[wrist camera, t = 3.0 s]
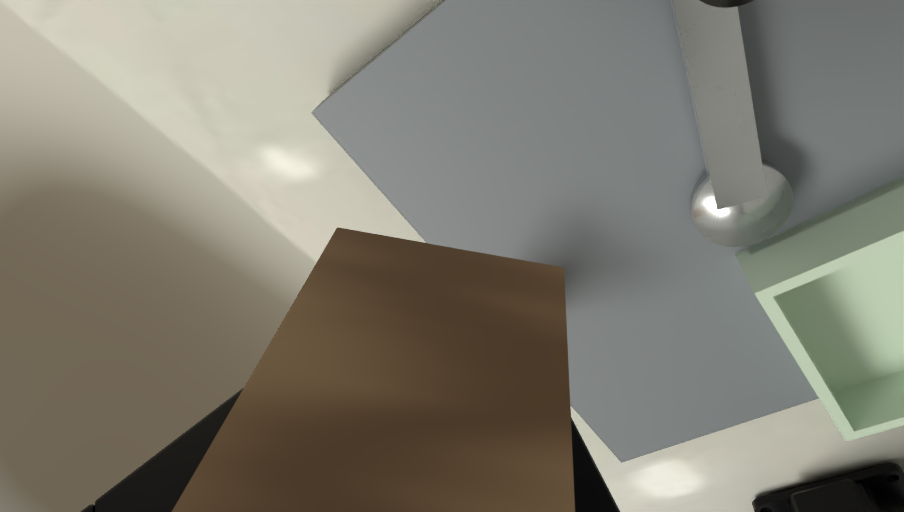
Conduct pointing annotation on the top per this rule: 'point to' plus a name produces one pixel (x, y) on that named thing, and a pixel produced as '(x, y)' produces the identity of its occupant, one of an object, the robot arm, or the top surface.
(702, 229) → the crank
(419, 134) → the plate
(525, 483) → the block
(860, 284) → the tray
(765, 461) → the top surface
